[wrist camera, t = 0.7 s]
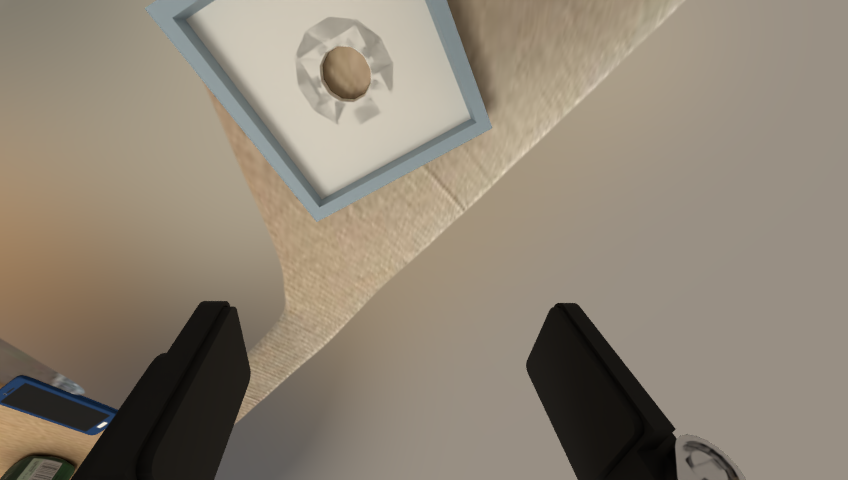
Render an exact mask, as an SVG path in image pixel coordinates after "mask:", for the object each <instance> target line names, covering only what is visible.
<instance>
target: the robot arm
mask: <svg viewBox="0 0 848 480" xmlns="http://www.w3.org/2000/svg"><path fill="white" fill-rule="evenodd" d="M526 368H527V372H528V374H529V376H530V378H531V381H532V383H533V385H534V387H535V389H536V391H537V394H538V396H539V398H540V400H541V402H542V404H543V406H544V408H545V411H546V413H547V415H548V417H549V419H550V421H551V423H552V425H553V427H554V430H555V432H556V434H557V436H558V438H559V440H560V443H561V445H562V447H563V449H564V451H565V453H566V455H567V457H568V460H569V462H570V464H571V466H572V468H573V470H574V472H575V475H576V477H577V479H578V480H746V479H745V477H744V475H743V474H742V472H741V471H740V469H739V468H738V466H737V465H736V464H735V463H734V462H733V461H732V460H731V459H730V458H729V457H728V456H727V455H726V454H725V453H724V452H723V451H721V450H720V449H719V448H718V447H716V446H715V445H713V444H712V443H710V442H708V441H707V440H705V439H702V438H700V437H697V436H694V435H688V434H686V435H682V436H679V437H678V438H677V439H676V437H675V436H674V435H673V433H672V432H673V431H674V430H675V428H674V427H673V425H672V424H671V423H670V421H669V420H668V419H667V418H666V416H665V415H664V414H663V413H662V411H661V410H660V409H659V407H658V406H657V405H656V403H655V402H654V401H653V400H652V398H651V397H650V396H649V394H648V393H647V392H646V391H645V389H644V388H643V387H642V386H641V384H640V383H639V382H638V380H637V379H636V378H635V377H634V375H633V374H632V373H631V372H630V370H629V369H628V368H627V367H626V365H625V364H624V363H623V361H622V360H621V359H620V357H619V356H618V355H617V354H616V353H615V351H614V350H613V349H612V347H611V346H610V345H609V344H608V342H607V341H606V340H605V338H604V337H603V336H602V334H601V333H600V332H599V331H598V330H597V328H596V327H595V325H594V324H593V323H592V322H591V320H590V319H589V318H588V317H587V315H586V314H585V313H584V311H583V310H582V309H581V308H580V306H579V305H577V304H575V303H557V304H556V305H555V306H554V308H551V309H550V311H549V313H548V315H547V317H546V320H545V322H544V324H543V326H542V328H541V331H540V333H539V335H538V337H537V340H536V342H535V344H534V347H533V349H532V351H531V353H530V355H529V357H528V360H527V363H526ZM250 373H251V371H250V366H249V361H248V357H247V353H246V348H245V344H244V340H243V335H242V330H241V326H240V322H239V317H238V313H237V309H236V308H235V307H230V305H229V303H228V302H227V301H203V302H201V303H200V304H199V305H198V307H197V308H196V310H195V311H194V313H193V314H192V316H191V317H190V319H189V320H188V322H187V323H186V325H185V326H184V328H183V329H182V331H181V332H180V334H179V335H178V337H177V338H176V340H175V342H174V343H173V344H172V346H171V348H170V349H169V350H168V352H167V353H163V354H160V355H159V356H157V357H156V358H155V359H154V360H153V361H152V363H151V364H150V365H149V367H148V368H147V370H146V371H145V373H144V374H143V376H142V377H141V379H140V380H139V381H138V383H137V384H136V386H135V387H134V389H133V390H132V391H131V393H130V395H129V396H128V397H127V399H126V400H125V402H124V403H123V405H122V406H121V408H120V409H119V410H118V412H117V413H116V415H115V416H114V418H113V419H112V420H111V422H110V423H109V425H108V426H107V428H106V429H105V431H104V432H103V434H102V435H101V436H100V438H99V439H98V441H97V442H96V444H95V445H94V447H93V448H92V449H91V451H90V452H89V454H88V455H87V457H86V458H85V460H84V461H83V463H82V464H81V465H80V467H79V468H78V470H77V471H76V473H75V474H74V476H73V477H72V479H71V480H214V478H215V475H216V473H217V470H218V467H219V464H220V461H221V459H222V456H223V453H224V450H225V448H226V445H227V442H228V439H229V436H230V434H231V431H232V428H233V426H234V423H235V420H236V417H237V415H238V412H239V409H240V406H241V404H242V401H243V398H244V395H245V393H246V390H247V387H248V384H249V381H250Z"/></svg>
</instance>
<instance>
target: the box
mask: <svg viewBox="0 0 848 480" xmlns="http://www.w3.org/2000/svg"><path fill="white" fill-rule="evenodd" d="M145 10H146V11H147V12H148V13H149V15H150V16H151V17H152V18H153V19H154V21H155V22H156V23H157V25H158V26H159V27H160V28H161V29H162V31H163V32H164V33H165V34H166V36H167V37H168V38H169V39H170V41H171V42H172V43H173V44H174V46H175V47H176V48H177V49H178V50H179V52H180V53H181V54H182V56H183V57H184V58H185V59H186V60H187V62H188V63H189V64H190V65H191V67H192V68H193V69H194V70H195V71H196V73H197V74H198V75H199V77H200V78H201V79H202V80H203V82H204V83H205V84H206V85H207V87H208V88H209V89H210V90H211V91H212V93H213V94H214V95H215V96H216V98H217V99H218V100H219V101H220V103H221V104H222V105H223V106H224V108H225V109H226V110H227V111H228V113H229V114H230V115H231V116H232V118H233V119H234V120H235V121H236V122H237V124H238V125H239V126H240V127H241V129H242V130H243V131H244V132H245V134H246V135H247V136H248V137H249V139H250V140H251V141H252V142H253V144H254V145H255V146H256V147H257V149H258V150H259V151H260V152H261V153H262V155H263V156H264V157H265V158H266V160H267V161H268V162H269V163H270V165H271V166H272V167H273V168H274V170H275V171H276V172H277V173H278V175H279V176H280V177H281V178H282V180H283V181H284V182H285V183H286V185H287V186H288V187H289V188H290V189H291V191H292V192H293V193H294V194H295V196H296V197H297V198H298V199H299V201H300V202H301V203H302V204H303V206H304V207H305V208H306V209H307V211H308V212H309V213H310V214H311V216H312V217H313V218H314V219H315V220H316V222H317V221H319V220H321V219H323V218H325V217H327V216H329V215H331V214H332V213H334V212H336V211H338V210H340V209H342V208H344V207H346V206H347V205H349V204H351V203H353V202H355V201H357V200H359V199H360V198H362V197H364V196H366V195H368V194H370V193H372V192H374V191H375V190H377V189H379V188H381V187H383V186H385V185H387V184H389V183H390V182H392V181H394V180H396V179H398V178H400V177H402V176H404V175H405V174H407V173H409V172H411V171H413V170H415V169H417V168H418V167H420V166H422V165H424V164H426V163H428V162H430V161H432V160H433V159H435V158H437V157H439V156H441V155H443V154H445V153H447V152H448V151H450V150H452V149H454V148H456V147H458V146H460V145H462V144H463V143H465V142H467V141H469V140H471V139H473V138H475V137H477V136H478V135H480V134H482V133H484V132H486V131H488V130H490V129H491V128H492V126H491V123H490V120H489V117H488V114H487V112H486V109H485V106H484V103H483V101H482V98H481V95H480V92H479V89H478V87H477V84H476V81H475V78H474V75H473V73H472V70H471V67H470V64H469V61H468V59H467V56H466V53H465V50H464V48H463V45H462V42H461V39H460V36H459V34H458V31H457V28H456V25H455V22H454V20H453V17H452V14H451V11H450V8H449V6H448V3H447V0H156V1H155V2H153V3H152V4H150V5H149V6H147V7H146V8H145ZM338 46H345V47H352V48H353V49H355V50H356V51H358V52H359V53H361V54H362V55H363V56H364V57H365V59H366V61H367V63H368V65H369V67H370V69H371V83H370V85H369V87H368V88H367V90H366V92H365V93H364V94H363V95H361V96H359V97H357V98H356V99H342V98H341V97H339V96H338V95H336V94H334V93H333V92H331V90H330V89H329V87H328V85H327V84H326V82H325V80H324V77H323V66H322V65H323V63H324V60H325V58H326V56H327V54H328V52H330V51H332V50H333V49H335V48H336V47H338Z"/></svg>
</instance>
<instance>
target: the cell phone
mask: <svg viewBox="0 0 848 480" xmlns="http://www.w3.org/2000/svg"><path fill="white" fill-rule="evenodd" d="M0 405H3V406H6V407H9V408H12V409H15V410H18V411H21V412H24V413H27V414H30V415H32V416H35V417H38V418H41V419H44V420H47V421H50V422H53V423H56V424H59V425H62V426H65V427H68V428H71V429H73V430H76V431H79V432H82V433H85V434H88V435H96V434H98V433H100V432H101V431H103V430H104V429H106V428H107V426H108V425H109V423H110V422H111V420H112V419H113V418H114V416H115V415H116V413H117V412H118V409H115V408H112V407H110V406H108V405H105V404H102V403H100V402H97V401H95V400H92V399H90V398H87V397H85V396H82V395H80V394H71V393H68V392H66V391H63V390H61V389H58V388H56V387H53V386H51V385H48V384H46V383H43V382H41V381H38V380H35V379H33V378H30V377H27V376H23V375H21V376H17V377H16V378H14V379H13V380H12V381H10V382H9V383H8V384H6V385H5V386H4V387H2V388H1V389H0Z"/></svg>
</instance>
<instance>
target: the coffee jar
mask: <svg viewBox="0 0 848 480" xmlns="http://www.w3.org/2000/svg"><path fill="white" fill-rule="evenodd" d="M74 471H75V467H74V466H73V465H71V464H70V463H68V462H66V461H65V460H63V459H61V458H57V457H53V456H49V457H46V456H29V457H26V458H24V459H22V460H21V461H19V462H17V463H16V464H14V465H13V466H12V467H11V468H10V469H8V471H7V472H6V473H5V474H4V475H3V476H2V477H1V479H0V480H69V479H70V478H71V476H72V475H73V473H74Z"/></svg>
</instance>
